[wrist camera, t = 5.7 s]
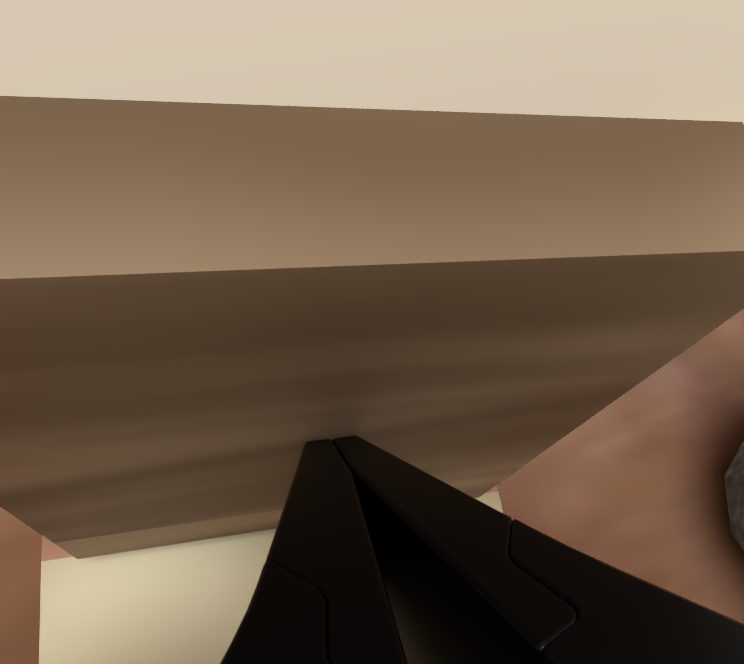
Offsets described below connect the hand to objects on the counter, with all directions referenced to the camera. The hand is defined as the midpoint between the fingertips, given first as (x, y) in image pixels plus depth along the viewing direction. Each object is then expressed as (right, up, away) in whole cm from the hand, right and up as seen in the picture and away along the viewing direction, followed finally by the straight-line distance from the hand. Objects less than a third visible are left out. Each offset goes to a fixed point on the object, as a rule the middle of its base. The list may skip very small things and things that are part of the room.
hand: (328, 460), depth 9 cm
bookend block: (-2, -1, +6) cm, 6 cm away
